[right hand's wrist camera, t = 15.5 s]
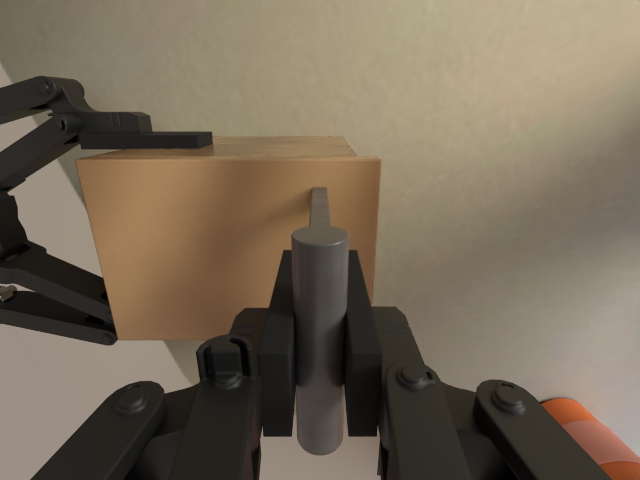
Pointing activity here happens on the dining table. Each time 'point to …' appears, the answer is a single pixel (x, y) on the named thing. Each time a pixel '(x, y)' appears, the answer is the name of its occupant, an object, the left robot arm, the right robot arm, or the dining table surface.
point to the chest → (254, 147)
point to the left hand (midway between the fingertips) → (215, 223)
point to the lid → (238, 254)
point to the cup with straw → (595, 439)
